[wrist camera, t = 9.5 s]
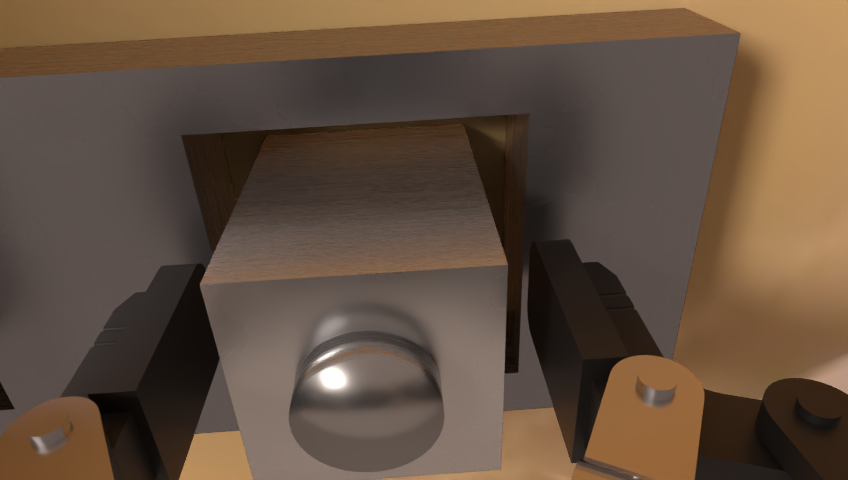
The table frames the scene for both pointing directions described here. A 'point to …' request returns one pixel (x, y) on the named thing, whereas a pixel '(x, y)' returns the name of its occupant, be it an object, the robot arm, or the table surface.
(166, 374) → the robot arm
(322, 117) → the grey slotted board
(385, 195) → the cube with silver knob
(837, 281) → the table surface
